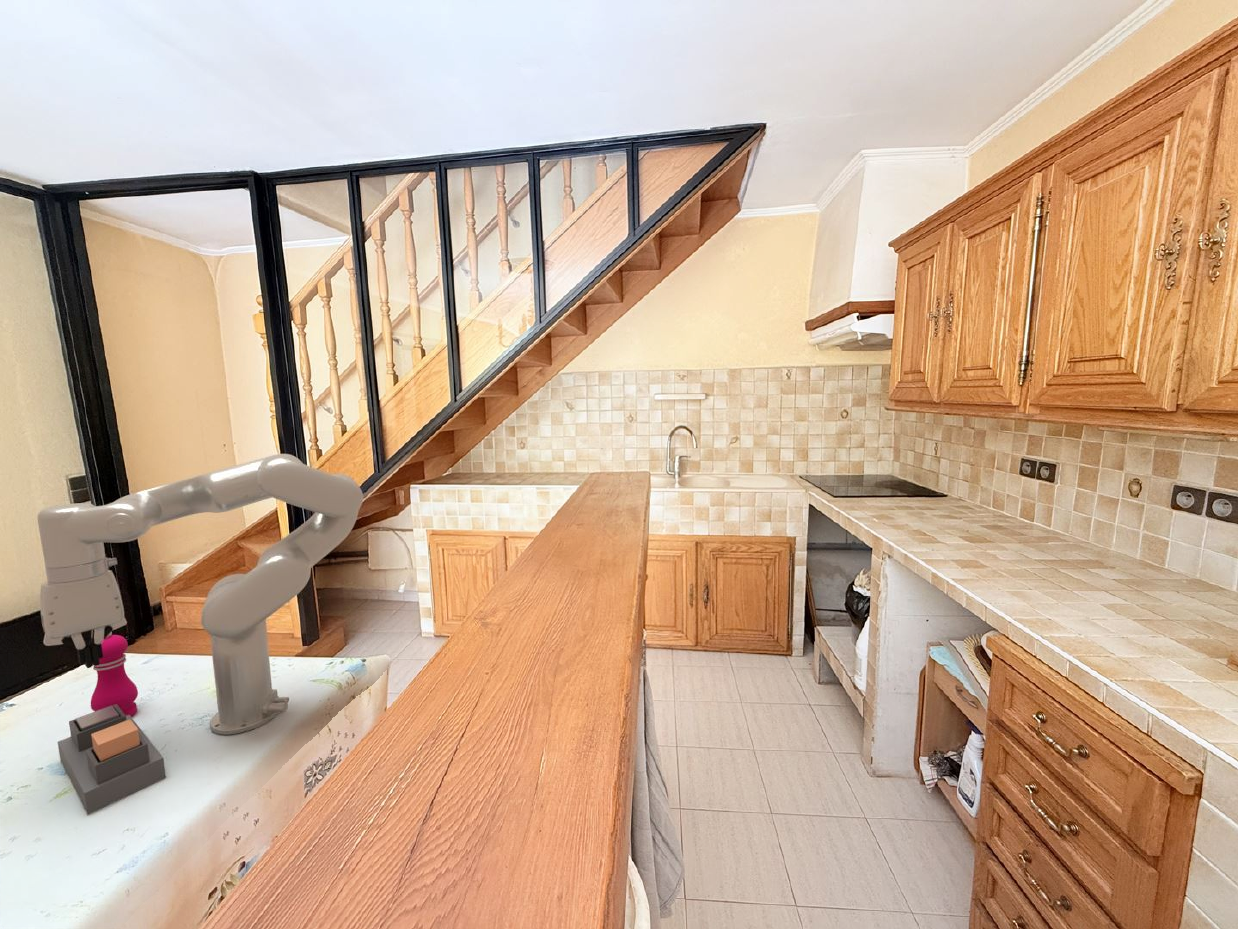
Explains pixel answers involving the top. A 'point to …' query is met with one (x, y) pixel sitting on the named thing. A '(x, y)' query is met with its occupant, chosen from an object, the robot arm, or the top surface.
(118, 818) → the top surface
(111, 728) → the terracotta button
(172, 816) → the top surface
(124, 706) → the pepper mill
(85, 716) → the grey button
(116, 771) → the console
